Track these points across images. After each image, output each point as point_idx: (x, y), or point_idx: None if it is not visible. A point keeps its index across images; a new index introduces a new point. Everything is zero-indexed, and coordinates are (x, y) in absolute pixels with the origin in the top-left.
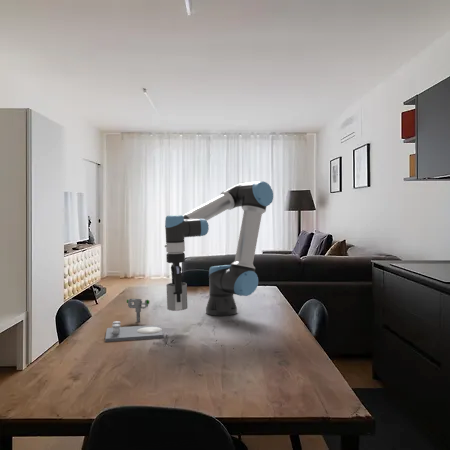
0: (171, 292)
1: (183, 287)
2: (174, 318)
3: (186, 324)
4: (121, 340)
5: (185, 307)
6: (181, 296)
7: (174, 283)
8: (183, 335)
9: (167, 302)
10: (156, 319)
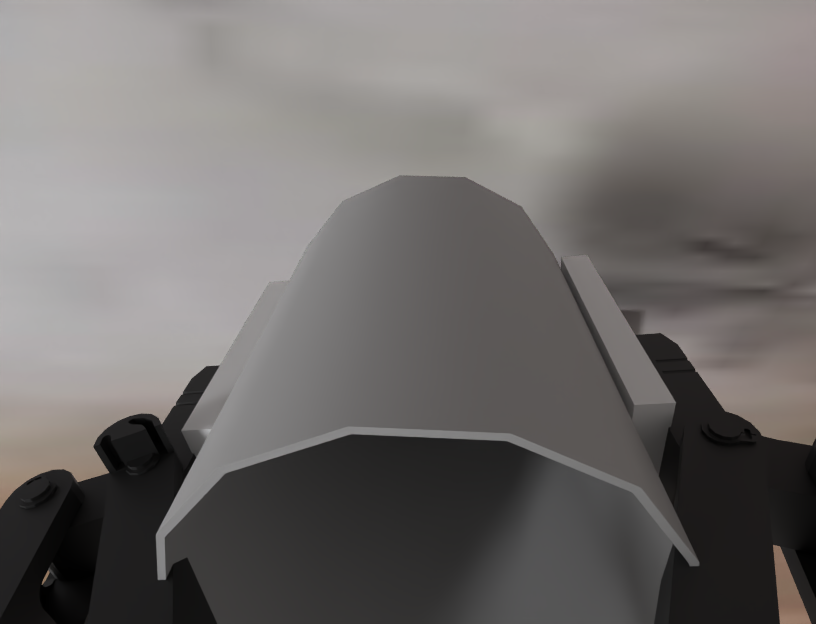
0: (581, 553)
1: (637, 459)
2: (27, 230)
3: (224, 125)
4: None
5: (522, 214)
6: (654, 370)
7: (206, 618)
8: (595, 162)
9: (463, 453)
10: (92, 356)
